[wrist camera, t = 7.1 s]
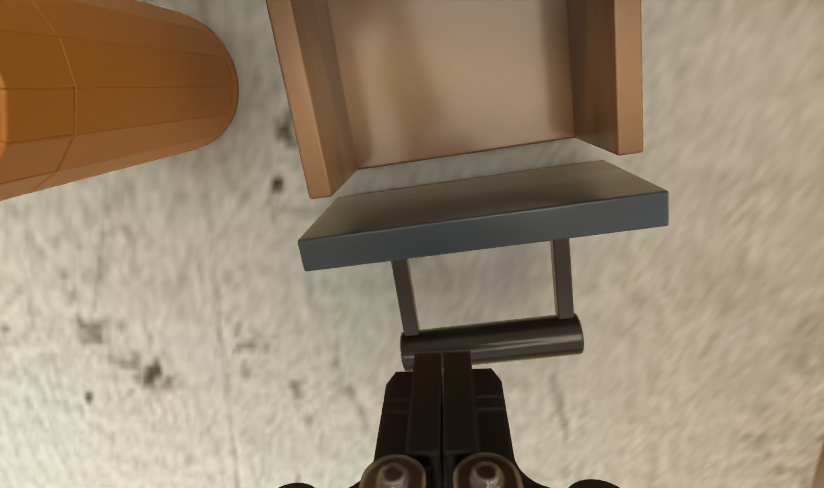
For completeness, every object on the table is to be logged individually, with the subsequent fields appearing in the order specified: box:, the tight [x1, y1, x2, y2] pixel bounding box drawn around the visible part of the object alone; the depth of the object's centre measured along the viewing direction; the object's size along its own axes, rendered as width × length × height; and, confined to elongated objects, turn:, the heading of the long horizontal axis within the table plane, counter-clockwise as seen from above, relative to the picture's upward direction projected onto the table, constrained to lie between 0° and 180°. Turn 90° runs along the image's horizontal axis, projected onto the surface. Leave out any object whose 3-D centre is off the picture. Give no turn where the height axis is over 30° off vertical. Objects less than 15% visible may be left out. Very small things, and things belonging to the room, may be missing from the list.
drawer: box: [266, 0, 668, 372], centre depth 19 cm, size 20×12×7 cm, turn 9°
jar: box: [0, 0, 238, 201], centre depth 17 cm, size 6×6×13 cm
